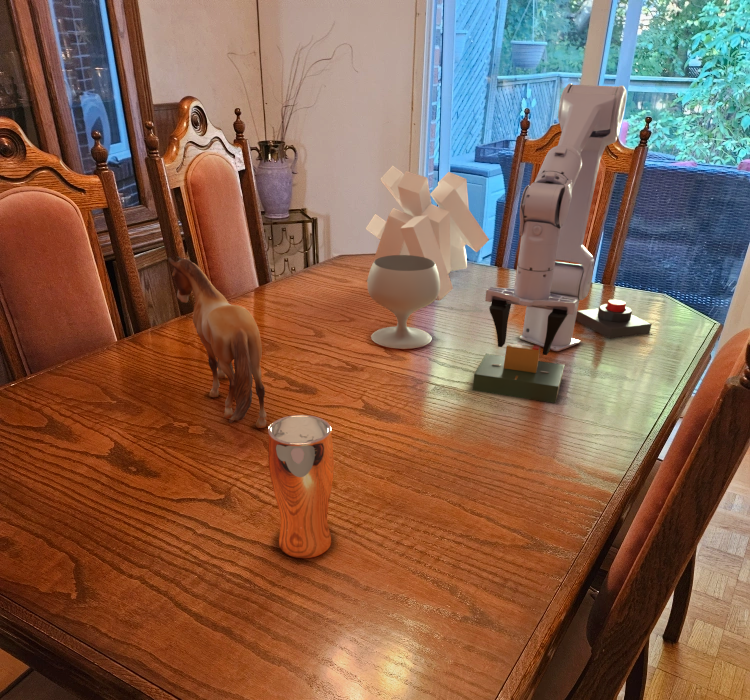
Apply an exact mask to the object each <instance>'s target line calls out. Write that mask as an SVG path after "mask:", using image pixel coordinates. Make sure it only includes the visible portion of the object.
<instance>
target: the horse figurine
mask: <svg viewBox="0 0 750 700" xmlns="http://www.w3.org/2000/svg"><path fill="white" fill-rule="evenodd" d="M176 258H177V261H175V260H173V259H172V258H171V257H168V259H167V260H168V262H169V263H170V265H171V266H172V267H173V271H172V274H171V277H172V279H173V280H174V281H175V284H176V286H177V293H176V298H177V299H178V300H179V301H180V302H181V303H188V302H189V298H190V295H191V293H193V294H192V295H193V297H194V301H195V302H194V306H193V312H192V323H193V325H194V327H195V330H196V334H197V335H198V337H199V340H200V342H201V344H202V345H203V347H204V348H205V350H206V354H207V357H208V359H207V361H208V367H209V369H210V370H211V372H212V378H213V379H212V380H213V381H212V388H211V389H210V391H209V394H208V396H209V397H211V398H218V397H219V392H220V391H219V388H220V387H221V386H220V385H221V384H220V381H219V380H224V379H226V378H227V379H228V382H229V385H228V394H227V397H226V399H225V400H224V405H225V408H224V414H223V416H224V419H226V420H228V422H229V424H232V423H233V422H234V421H239V422H240V421H242V420H244V418H245V417H246V415H247V413H248V411H249V409H250V408H251V406H252V402H253V384H254V387H255V388H254V389H255V393H256V396H257V398H258V404H259V411H258V418H257V421H256V422H255V426H256V428H258V429H259V428H260V429H261V428H266V427H267V424H268V423H267V422H268V421H267V419H266V418H267V411H266V409H265V395H266V390H265V386H264V384H263V381H262V367H261V361H262V356H263V355H262V354H263V346H262V340H261V339H262V338H261V334H260V329H259V326H258V323H257V322H256V320H255V318H254V316H253V314H252V313H251V312H250V311H249V310H248V308H246V307H244V306H242V305H237V304H230V303H229V301H228V299H227V298H226V296H225V295H223V294H222V293H221V292H220V291H219V290H218V289H216V287H215V286H214V285H213V284H212V282H211V280H209V278H208V276H207V275H206V274H205V272H204V271H203V270H202V269H201V267H200V266H199V265H198V264H196V263H195V262H192V261H191V260H190V259H188V258H184V257H180V256H177V257H176ZM234 402H235V409H234V411H233V408H232V406H233V404H234Z"/></svg>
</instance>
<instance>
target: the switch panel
mask: <svg viewBox="0 0 750 700" xmlns="http://www.w3.org/2000/svg"><path fill="white" fill-rule="evenodd" d="M504 362H505V355H501V354H500V355H499V354H492V353H485V354H484V356H483V358H482V359H481V362H480V363H479V365H478V367H477V368H476V370H475V372H474V373H473V382H472V391H475V392H482V393H487V394H495V395H502V396H506V397H514V398H519V399H527V400H532V401H537V402H538V401H539V402H544V403H545V402H546V403H552V404H556V402H557V399H558V396H559V391H560V387H561V385H562V382H563V375H564V370H565V364H563V363H556V362H548V361H542V360H539V361H538V367H537V371H536V373H532V372H525V371H518V370H512V369H505V368H504Z"/></svg>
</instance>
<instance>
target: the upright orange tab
mask: <svg viewBox="0 0 750 700" xmlns="http://www.w3.org/2000/svg"><path fill="white" fill-rule="evenodd" d="M505 347H506V348H505V355H504V356H505V362H504V368H505V369H512V370H518V371H525V372H532V373H536V371H537V367H538V361H540V355H541V348H542V346H539V345H536V344H533V345H527V344H521V343H515V342H514V343H513V342H507V344H506V346H505Z"/></svg>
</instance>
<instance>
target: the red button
mask: <svg viewBox="0 0 750 700" xmlns="http://www.w3.org/2000/svg"><path fill="white" fill-rule="evenodd" d="M606 304H607V310H609V311H613V312H624V310H625V306H626V305H627V302H626V301H624V300H621V299H609V300H608V301H607V303H606ZM626 307H627V306H626Z"/></svg>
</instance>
